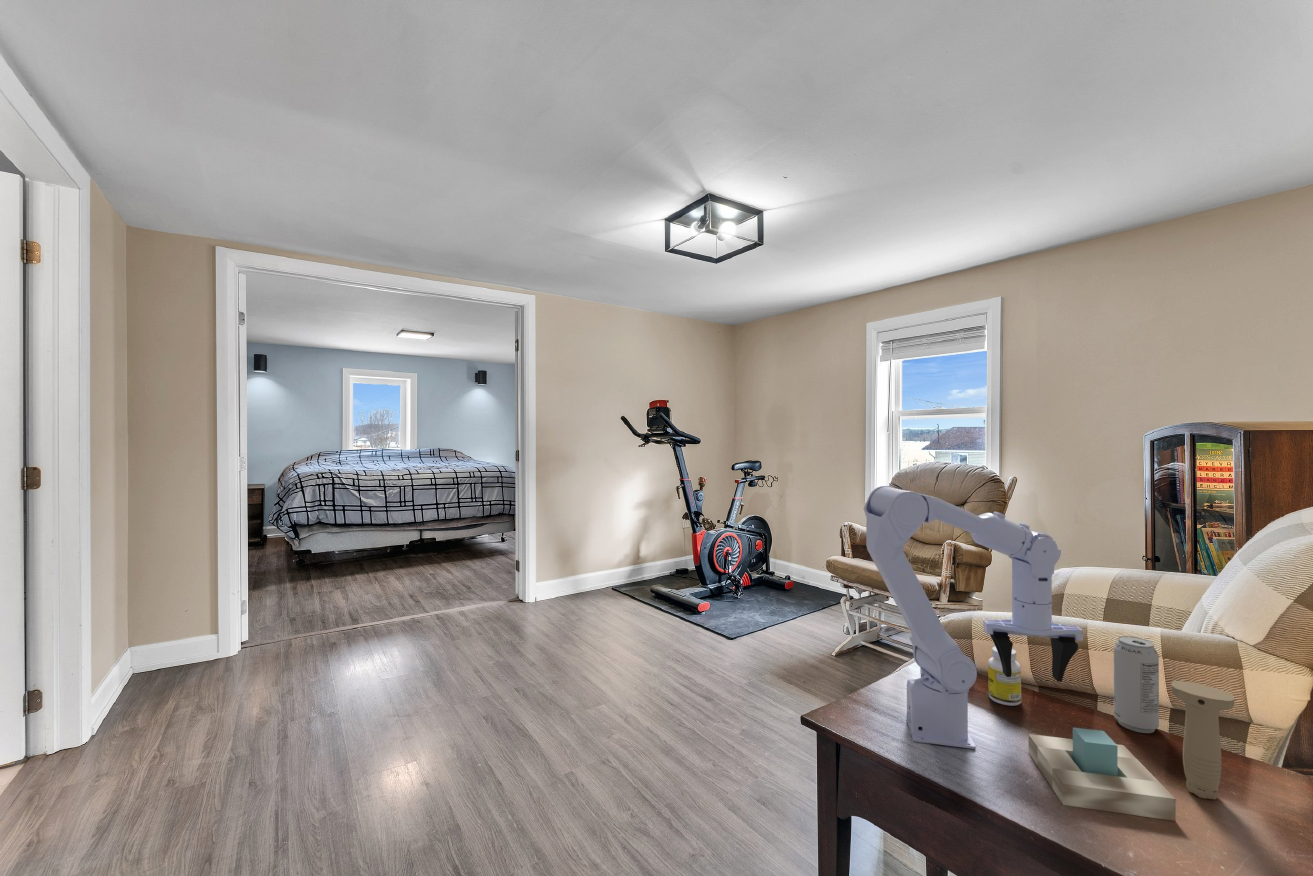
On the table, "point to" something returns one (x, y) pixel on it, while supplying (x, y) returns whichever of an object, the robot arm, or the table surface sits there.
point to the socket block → (1101, 781)
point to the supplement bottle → (1004, 680)
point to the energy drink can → (1136, 684)
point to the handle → (1202, 735)
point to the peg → (1095, 752)
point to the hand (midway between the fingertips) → (1031, 677)
